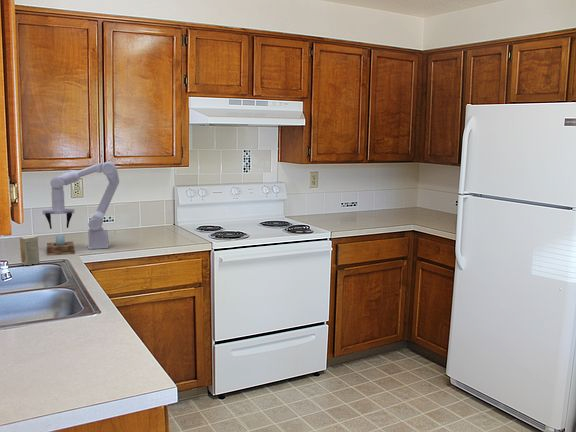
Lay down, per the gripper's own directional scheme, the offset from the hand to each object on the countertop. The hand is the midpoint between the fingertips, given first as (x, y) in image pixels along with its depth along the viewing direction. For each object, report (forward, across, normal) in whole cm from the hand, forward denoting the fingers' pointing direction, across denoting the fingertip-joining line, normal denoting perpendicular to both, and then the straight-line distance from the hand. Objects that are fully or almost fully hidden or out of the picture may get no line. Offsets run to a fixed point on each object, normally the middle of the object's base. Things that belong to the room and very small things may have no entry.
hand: (59, 228), depth 283 cm
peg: (+10, 0, -9) cm, 13 cm away
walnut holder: (+10, 0, -8) cm, 13 cm away
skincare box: (+11, -14, -31) cm, 36 cm away
